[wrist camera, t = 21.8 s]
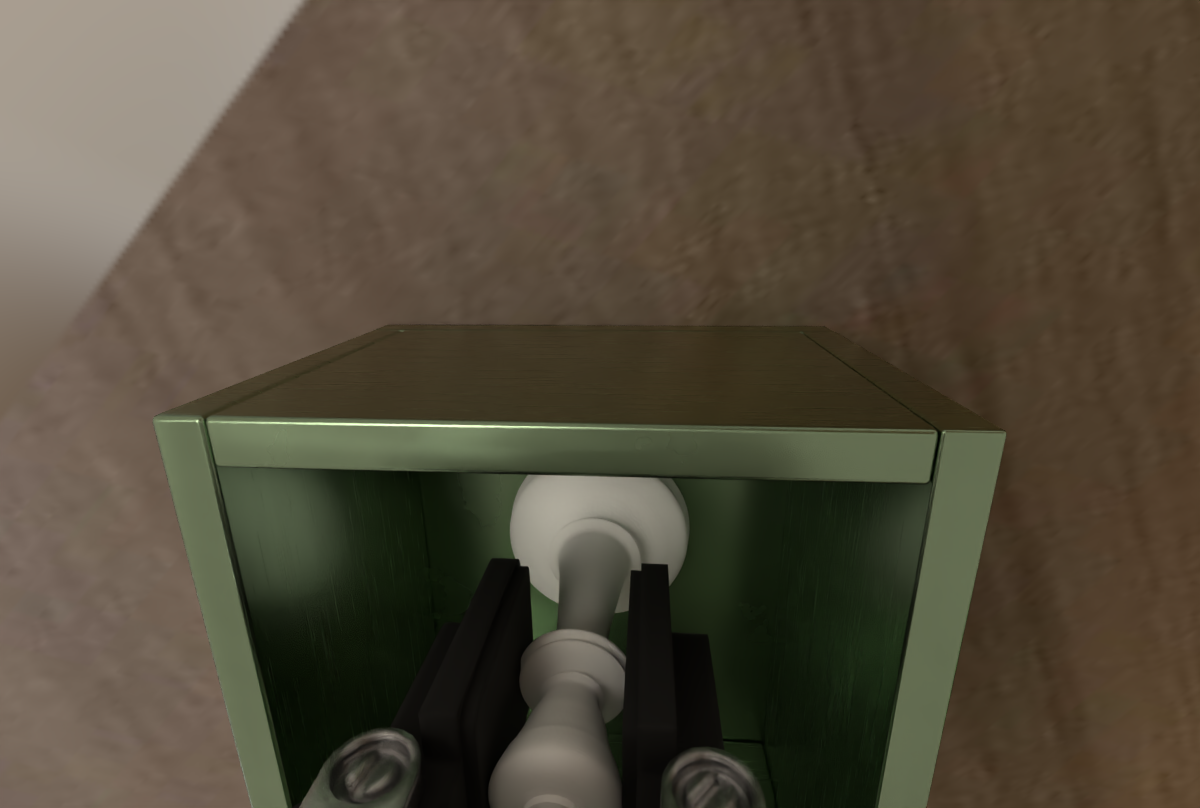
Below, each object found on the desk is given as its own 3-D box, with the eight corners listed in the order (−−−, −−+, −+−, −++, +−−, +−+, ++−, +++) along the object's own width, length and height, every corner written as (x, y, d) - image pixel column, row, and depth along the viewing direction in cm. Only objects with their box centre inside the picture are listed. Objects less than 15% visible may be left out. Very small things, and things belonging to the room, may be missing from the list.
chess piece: (559, 622, 17) (447, 1128, 8) (481, 482, 16) (230, 875, 6) (716, 568, 16) (813, 1073, 7) (646, 415, 15) (640, 761, 5)
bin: (386, 324, 16) (147, 415, 8) (826, 325, 15) (1009, 431, 7) (434, 720, 20) (304, 1022, 12) (781, 741, 19) (868, 1081, 11)
